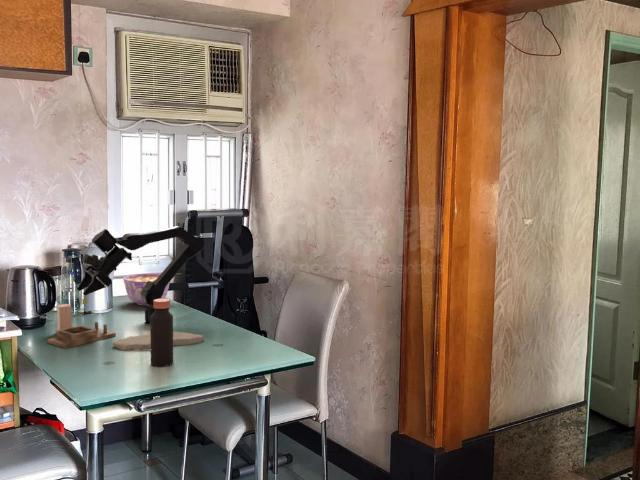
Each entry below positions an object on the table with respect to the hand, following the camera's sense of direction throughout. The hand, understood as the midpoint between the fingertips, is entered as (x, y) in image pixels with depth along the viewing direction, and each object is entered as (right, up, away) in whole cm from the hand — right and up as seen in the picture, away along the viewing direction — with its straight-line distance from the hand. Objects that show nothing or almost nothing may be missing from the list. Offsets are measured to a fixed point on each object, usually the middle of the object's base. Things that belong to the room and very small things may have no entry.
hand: (80, 292), depth 242 cm
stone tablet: (+30, -17, -10) cm, 36 cm away
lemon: (-8, -11, +31) cm, 34 cm away
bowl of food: (+12, -9, +49) cm, 51 cm away
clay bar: (-5, -14, -2) cm, 15 cm away
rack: (+4, -15, -10) cm, 19 cm away
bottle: (+38, -19, -35) cm, 55 cm away
